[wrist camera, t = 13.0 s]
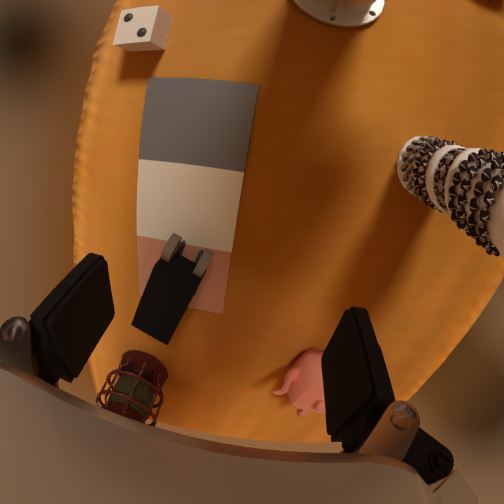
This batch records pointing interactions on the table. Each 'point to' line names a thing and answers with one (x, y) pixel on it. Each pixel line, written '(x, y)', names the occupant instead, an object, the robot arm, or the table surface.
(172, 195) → the game board
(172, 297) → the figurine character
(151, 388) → the lantern
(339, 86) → the table surface
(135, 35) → the die
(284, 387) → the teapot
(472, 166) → the decorative candle
